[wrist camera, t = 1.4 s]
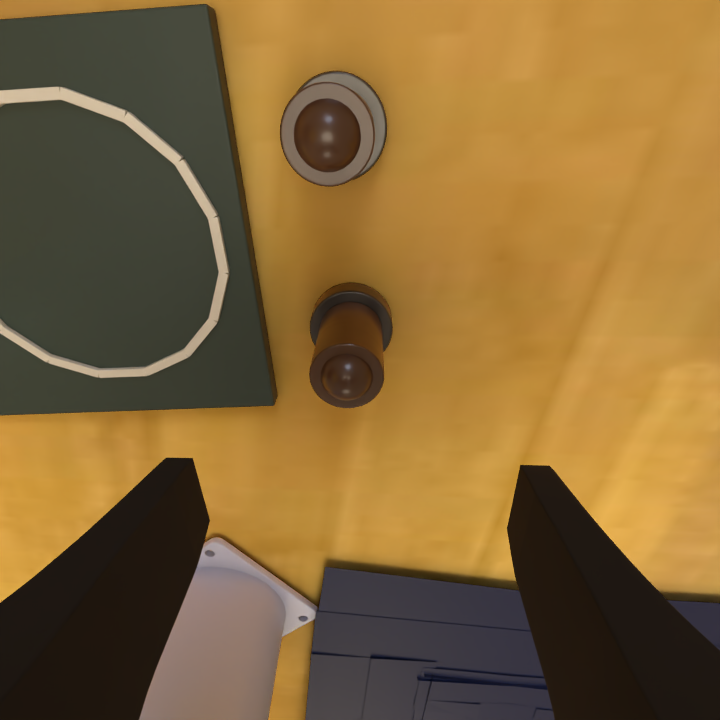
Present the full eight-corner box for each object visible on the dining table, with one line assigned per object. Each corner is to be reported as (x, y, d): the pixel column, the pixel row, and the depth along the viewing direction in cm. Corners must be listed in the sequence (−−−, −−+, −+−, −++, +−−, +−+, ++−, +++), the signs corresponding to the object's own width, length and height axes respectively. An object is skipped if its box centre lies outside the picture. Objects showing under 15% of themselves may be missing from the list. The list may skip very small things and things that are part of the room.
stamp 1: (335, 197, 17) (322, 232, 13) (271, 122, 16) (231, 131, 12) (405, 132, 16) (418, 144, 12) (341, 47, 15) (328, 24, 11)
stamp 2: (348, 368, 21) (342, 445, 16) (296, 316, 19) (272, 382, 15) (407, 324, 19) (418, 392, 15) (355, 265, 18) (349, 319, 14)
